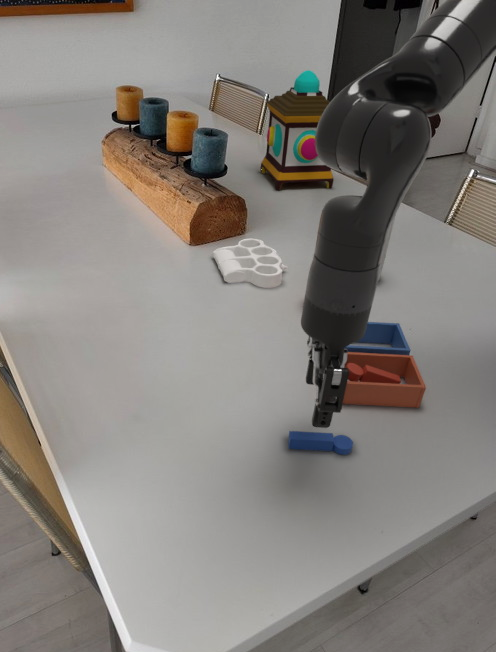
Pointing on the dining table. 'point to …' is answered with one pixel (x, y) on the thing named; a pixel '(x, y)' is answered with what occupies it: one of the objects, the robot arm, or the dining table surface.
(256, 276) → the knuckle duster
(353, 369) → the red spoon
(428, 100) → the robot arm
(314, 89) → the decorative lantern
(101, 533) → the dining table surface
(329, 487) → the dining table surface
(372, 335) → the blue bin
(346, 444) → the blue spoon
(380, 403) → the terracotta bin
